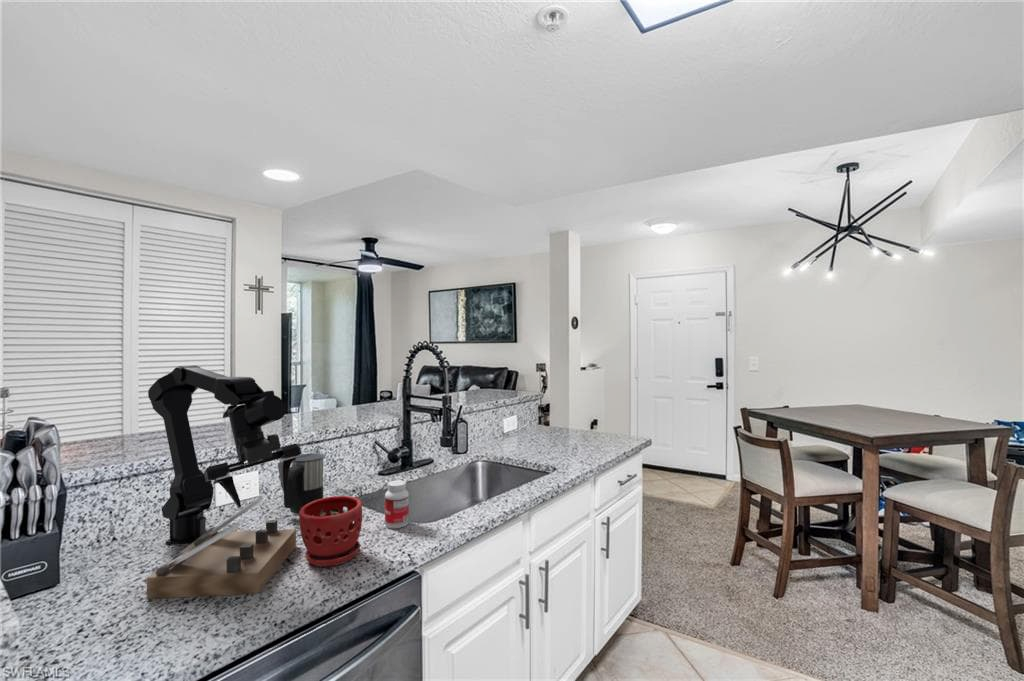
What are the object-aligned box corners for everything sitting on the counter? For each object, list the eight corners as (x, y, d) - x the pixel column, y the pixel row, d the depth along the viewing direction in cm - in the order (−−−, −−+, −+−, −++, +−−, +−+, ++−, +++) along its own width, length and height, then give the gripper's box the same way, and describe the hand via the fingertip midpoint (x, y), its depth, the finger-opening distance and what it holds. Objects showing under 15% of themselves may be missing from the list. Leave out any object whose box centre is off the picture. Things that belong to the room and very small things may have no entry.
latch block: (146, 598, 90) (146, 564, 90) (206, 549, 111) (206, 521, 111) (258, 593, 92) (258, 559, 92) (295, 546, 113) (295, 518, 113)
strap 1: (167, 569, 93) (165, 566, 93) (176, 562, 96) (174, 558, 96) (233, 531, 94) (231, 527, 94) (240, 525, 97) (238, 521, 97)
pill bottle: (383, 521, 128) (383, 480, 128) (407, 518, 130) (407, 478, 130) (385, 530, 122) (386, 487, 122) (410, 527, 124) (410, 485, 124)
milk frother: (296, 502, 143) (296, 453, 142) (350, 500, 144) (350, 451, 144) (278, 520, 128) (278, 465, 128) (339, 518, 130) (339, 464, 130)
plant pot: (318, 544, 114) (318, 494, 114) (371, 546, 113) (371, 496, 113) (287, 570, 101) (287, 514, 101) (346, 573, 100) (346, 516, 100)
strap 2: (203, 540, 106) (201, 538, 106) (210, 535, 109) (208, 532, 108) (258, 503, 107) (255, 500, 107) (263, 498, 110) (261, 495, 110)
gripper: (203, 438, 96) (220, 515, 94) (299, 415, 108) (316, 483, 106) (197, 445, 104) (212, 516, 102) (287, 423, 116) (302, 486, 114)
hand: (263, 499), depth 106 cm, fingers open, 9 cm apart
